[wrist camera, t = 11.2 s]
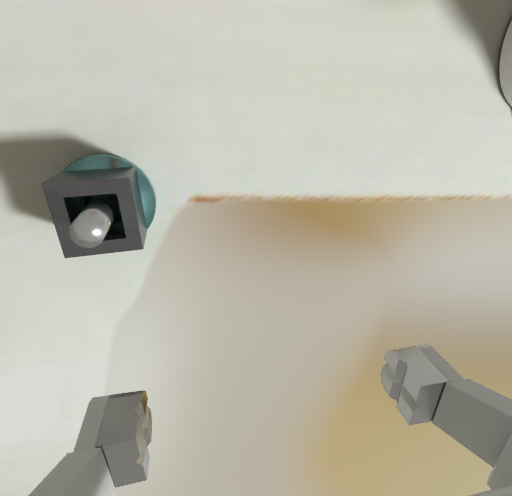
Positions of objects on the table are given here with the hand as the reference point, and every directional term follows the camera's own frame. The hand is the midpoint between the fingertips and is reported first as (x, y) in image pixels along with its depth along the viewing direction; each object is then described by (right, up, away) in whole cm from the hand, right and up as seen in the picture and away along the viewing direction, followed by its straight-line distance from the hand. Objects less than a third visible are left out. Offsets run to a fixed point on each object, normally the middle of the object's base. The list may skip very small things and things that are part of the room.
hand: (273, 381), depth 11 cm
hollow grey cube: (-15, +9, +20) cm, 27 cm away
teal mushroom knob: (-15, +9, +21) cm, 28 cm away
